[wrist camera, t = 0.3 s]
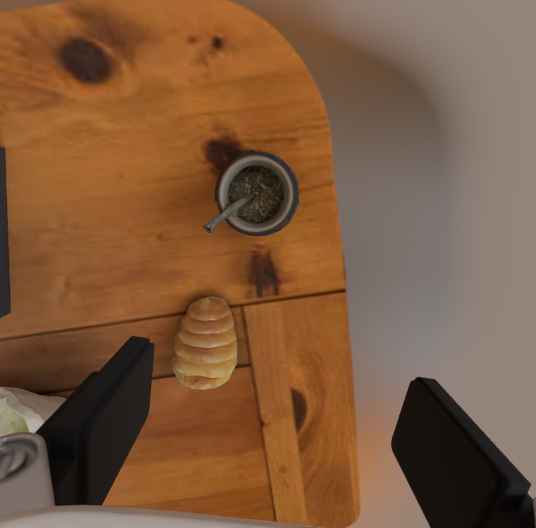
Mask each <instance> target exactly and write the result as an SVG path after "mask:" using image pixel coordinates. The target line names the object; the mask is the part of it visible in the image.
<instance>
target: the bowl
mask: <svg viewBox="0 0 536 528" xmlns="http://www.w3.org/2000/svg"><path fill="white" fill-rule="evenodd" d="M65 400H66V398H64V397H59V396H42V395H38V394H36V393H32V392H30V391H27V390H24V389H20V388H15V387H14V388H10V387H3V386H2V387H0V437H2V436H4V435H8V434H12V433H17V432H31V433H35V432H36V431H37V430H38V429H39V428H40V427H41V426H42V425H43V423H44V422H45V421H46V420H47V419H48V418H49V417H50V416H51V415H52V414H53V413H54V412H55V411H56V410H57V409H58V408H59V407H60V406H61V405H62V404H63V402H64V401H65Z"/></svg>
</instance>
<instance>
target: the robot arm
mask: <svg viewBox="0 0 536 528" xmlns="http://www.w3.org/2000/svg"><path fill="white" fill-rule="evenodd" d="M153 359H154V343H150V339H149V338H142V337H135V336H132V337H130V338H129V340H128V341H127V342H126V343H125V344H124V345H123V346H122V347H121V348H120V349H119V350H118V352H117V353H116V354H115V355H114V356H113V357H112V358H111V359H110V360H109V361H108V362H107V363H106V365H105V366H104V367H103V368H102V369H101V370H100V371H99V372H93V373H92V374H90V375H89V376H88V377H87V378H86V379H85V380H84V381H83V383H82V384H81V385H80V386H79V387H78V388H77V389H76V390H75V391H74V392H73V393H72V394H71V395H70V396H69V397H68V398H67V399H66V400H65V401H64V402H63V404H62V405H61V406H60V407H59V408H58V409H57V410H56V411H55V412H54V413H53V414H52V415H51V416H50V417H49V418H48V419H47V420H46V421H45V422H44V423H43V425H42V426H41V427H40V428H39V429H38V430H37V431H36V432H35V433H31V432H17V433H12V434H8V435H4V436H2V437H0V528H327V527H318V526H309V525H300V524H291V523H282V522H273V521H264V520H254V519H245V518H235V517H226V516H216V515H207V514H197V513H188V512H178V511H167V510H155V509H143V508H132V507H120V506H102V504H103V502H104V500H105V498H106V496H107V494H108V492H109V490H110V488H111V487H112V485H113V483H114V481H115V479H116V477H117V475H118V473H119V471H120V469H121V467H122V465H123V463H124V461H125V460H126V458H127V456H128V454H129V452H130V450H131V448H132V446H133V444H134V442H135V440H136V438H137V436H138V434H139V432H140V431H141V429H142V427H143V425H144V423H145V421H146V419H147V416H148V413H149V407H150V395H151V383H152V371H153ZM391 446H392V451H393V453H394V455H395V457H396V459H397V461H398V463H399V465H400V467H401V469H402V471H403V473H404V475H405V477H406V479H407V481H408V483H409V485H410V487H411V489H412V491H413V493H414V495H415V497H416V499H417V501H418V503H419V505H420V507H421V509H422V511H423V513H424V515H425V517H426V519H427V521H428V523H429V525H430V527H431V528H536V497H535V498H534V499H532V498H531V497H530V496H529V495H528V493H527V492H528V490H529V488H530V486H531V484H530V483H529V481H528V480H527V479H526V478H525V477H524V476H523V475H522V474H521V473H520V472H519V471H518V469H517V468H515V466H514V465H513V464H512V463H511V462H510V461H509V460H508V459H507V457H506V456H505V455H504V454H503V453H502V452H501V451H500V450H499V449H498V448H497V447H496V446H495V444H494V443H493V442H492V441H491V440H490V439H489V438H488V437H487V436H486V435H485V433H484V432H483V431H482V430H481V429H480V428H479V427H478V426H477V425H476V424H475V423H474V421H473V420H472V419H471V418H470V417H469V416H468V415H467V414H466V413H465V411H463V409H462V408H461V407H460V406H459V405H458V404H457V403H456V402H455V401H454V399H453V398H452V397H451V396H450V395H449V394H448V393H447V392H446V391H445V390H444V389H443V388H442V386H441V385H440V384H439V383H438V382H437V381H436V380H435V379H430V378H422V377H417V378H416V379H415V380H413V381H411V382H410V385H409V387H408V391H407V394H406V397H405V400H404V403H403V406H402V409H401V412H400V415H399V418H398V422H397V425H396V428H395V431H394V434H393V437H392V441H391Z"/></svg>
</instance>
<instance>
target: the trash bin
mask: <svg viewBox="0 0 536 528" xmlns="http://www.w3.org/2000/svg"><path fill="white" fill-rule="evenodd" d="M9 313H10V289H9V260H8V231H7V202H6V172H5V149H4V148H2V147H0V318H1V317H3V316H5V315H7V314H9Z"/></svg>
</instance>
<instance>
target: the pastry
mask: <svg viewBox="0 0 536 528" xmlns="http://www.w3.org/2000/svg"><path fill="white" fill-rule="evenodd" d="M237 347H238V343H237V338H236V333H235V327H234V321H233V316H232V312H231V310H230V309H229V307H228V305H227V303H226V302H225V301H224V300H223V299H222V298H219V297H214V296H209V297H205V298H200V299H199V300H197V301H195V302H193V303H192V304H190V306H189V308H188V310H187V313H186V315H185V316H184V317H183V319H182V320H181V324H180V328H179V330H178V332H177V333H176V335H175V337H174V354H173V356H172V357H171V363H172V365H173V371H174V373H175V374H176V377H177V378H178V379H179V381H180V383H181V384H182V385H184V386H186V387H190V388H194V389H199V390H205V389H208V388H216V387H219V386H221V385H222V384H224V383H226V382H227V381H228V380H229V379H230V377H231V373H232V371H233V369H234V368H235V366H236V364H237Z"/></svg>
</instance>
